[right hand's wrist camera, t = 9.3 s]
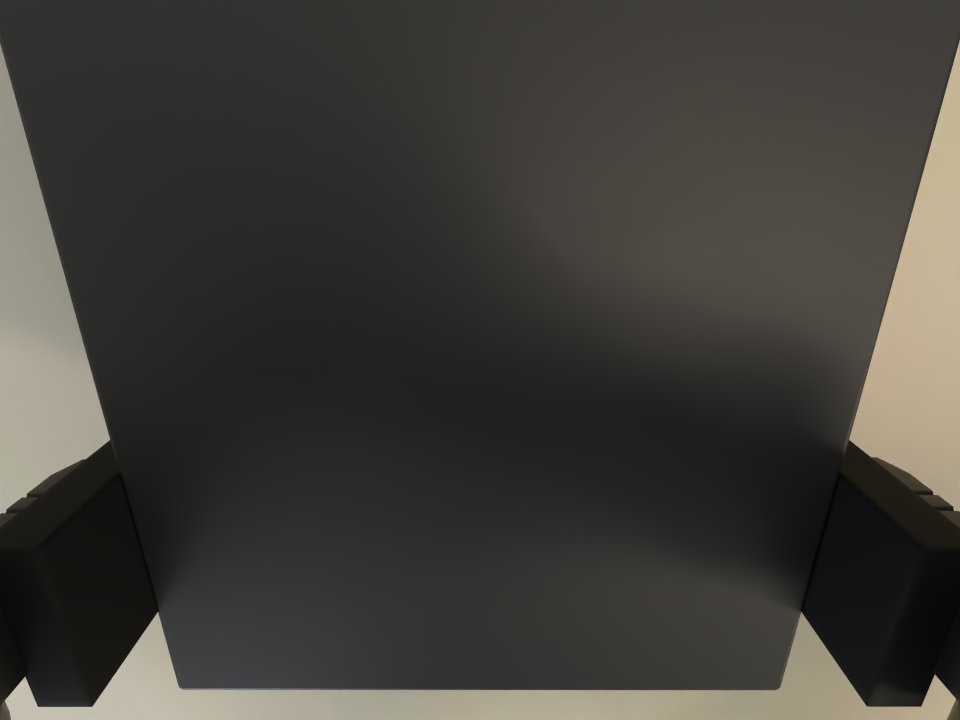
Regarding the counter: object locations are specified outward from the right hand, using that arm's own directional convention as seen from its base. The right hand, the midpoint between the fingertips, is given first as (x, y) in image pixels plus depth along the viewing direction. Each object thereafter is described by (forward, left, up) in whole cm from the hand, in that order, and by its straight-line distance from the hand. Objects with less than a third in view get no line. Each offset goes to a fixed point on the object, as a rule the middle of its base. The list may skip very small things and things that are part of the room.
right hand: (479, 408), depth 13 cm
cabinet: (+3, -6, -4) cm, 7 cm away
